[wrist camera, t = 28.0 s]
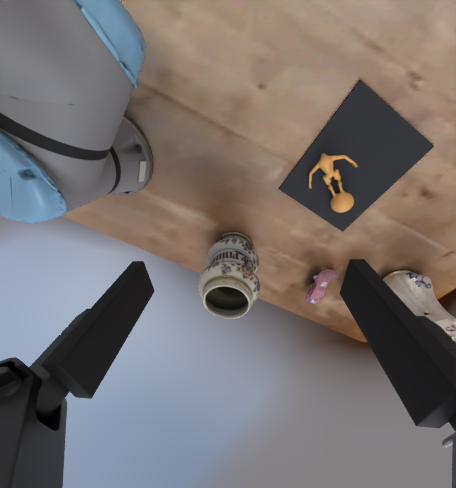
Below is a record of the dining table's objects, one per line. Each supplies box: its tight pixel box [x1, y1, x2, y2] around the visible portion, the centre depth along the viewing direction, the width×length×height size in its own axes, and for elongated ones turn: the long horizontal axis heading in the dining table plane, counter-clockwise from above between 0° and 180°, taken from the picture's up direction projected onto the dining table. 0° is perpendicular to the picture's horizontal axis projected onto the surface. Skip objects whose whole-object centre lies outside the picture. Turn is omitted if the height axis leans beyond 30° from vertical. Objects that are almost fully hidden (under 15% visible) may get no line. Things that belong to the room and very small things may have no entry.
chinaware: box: [382, 270, 456, 342], centre depth 43 cm, size 28×17×17 cm, turn 53°
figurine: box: [309, 153, 358, 213], centre depth 36 cm, size 8×6×12 cm
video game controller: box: [305, 269, 337, 304], centre depth 48 cm, size 10×5×7 cm, turn 171°
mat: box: [279, 80, 434, 231], centre depth 36 cm, size 18×20×1 cm
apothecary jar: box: [198, 232, 260, 319], centre depth 40 cm, size 12×12×18 cm
